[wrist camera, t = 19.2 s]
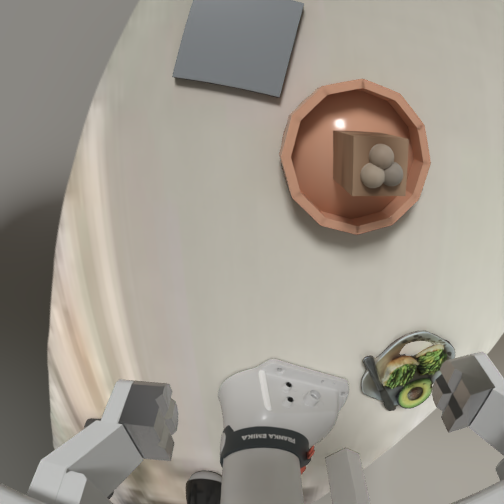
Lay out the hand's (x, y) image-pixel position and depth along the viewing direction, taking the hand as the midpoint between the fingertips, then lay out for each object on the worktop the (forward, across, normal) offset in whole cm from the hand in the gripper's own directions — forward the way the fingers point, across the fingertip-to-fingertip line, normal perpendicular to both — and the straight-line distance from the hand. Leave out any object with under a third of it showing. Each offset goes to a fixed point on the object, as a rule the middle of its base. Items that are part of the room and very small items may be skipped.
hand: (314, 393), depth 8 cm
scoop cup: (+30, -10, -2) cm, 32 cm away
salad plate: (+32, -24, +34) cm, 53 cm away
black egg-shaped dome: (+31, +16, +70) cm, 79 cm away
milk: (+31, -16, +63) cm, 72 cm away
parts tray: (+31, +2, -16) cm, 35 cm away
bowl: (+31, -10, -2) cm, 33 cm away
